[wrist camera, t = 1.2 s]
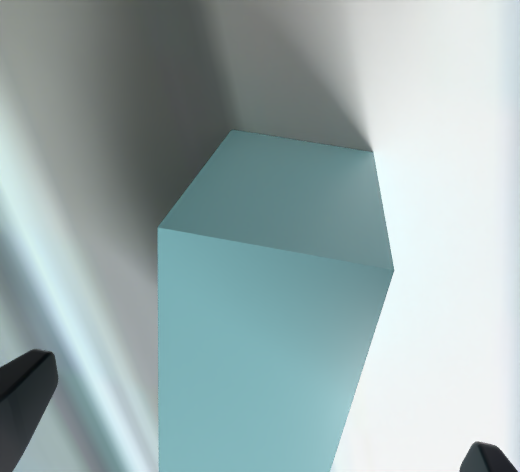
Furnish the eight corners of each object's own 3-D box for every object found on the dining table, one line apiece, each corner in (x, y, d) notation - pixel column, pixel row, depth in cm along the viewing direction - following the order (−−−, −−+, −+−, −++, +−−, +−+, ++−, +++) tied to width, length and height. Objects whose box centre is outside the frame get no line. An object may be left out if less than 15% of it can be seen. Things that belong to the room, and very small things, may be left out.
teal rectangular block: (373, 151, 12) (394, 270, 7) (321, 358, 16) (311, 528, 11) (232, 128, 13) (157, 227, 8) (215, 337, 17) (158, 493, 12)
